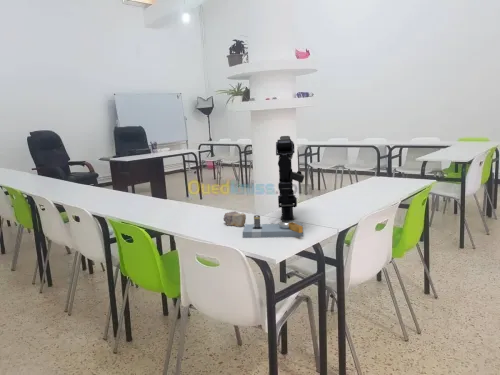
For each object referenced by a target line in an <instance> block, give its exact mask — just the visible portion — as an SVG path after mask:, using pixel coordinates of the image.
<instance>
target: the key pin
mask: <svg viewBox="0 0 500 375" xmlns="http://www.w3.org/2000/svg"><path fill="white" fill-rule="evenodd" d="M253 224H254V227H255V229H260V224H261V215H259V214H256V215H253Z"/></svg>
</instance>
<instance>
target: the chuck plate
mask: <svg viewBox="0 0 500 375" xmlns="http://www.w3.org/2000/svg"><path fill="white" fill-rule="evenodd" d="M294 223H295V224H298V225H300V226H303V222H302V223H301V222H300V223H298V222H297V223H296V222H294ZM243 227H244V228H243V230H242V238H249V239H250V238H297V237H298V238H300V237H301V238H302V237H304V231H303V232H302V233H298V232H295V231H293V230H291V229H283V228H280V227H279V223H260V229H255V227H254V223H252V224H251V223H249V224H247V223H245V224H244V226H243Z"/></svg>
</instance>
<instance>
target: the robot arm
mask: <svg viewBox="0 0 500 375" xmlns="http://www.w3.org/2000/svg"><path fill="white" fill-rule="evenodd" d="M294 154H295V143H294V141H293V140H292V139H291V136H289V135H281V136H280V137H279V139H277V142H275V155H276V156H278V161H277V166H278V179H279V180H278V181H279V182H278V186H277V187H278V191H279V195H278V197H277V198H278V199H277V200H278V208H279V209H280V208H281V216H280V221H282V220H283V219H284V220H289V221H294V220H295V216H294V208H296V207H298V204H297V202H298V200H297V199H298V198H297V197H296V195H295V194H294V193H295V192H294V188H293V181H295V182H298V183H300V184H301V183H302V184H303V182H304V179H305V175H304V174H303V173H302V171H301V170H297V172H296V171H293V168H292V160H293V156H294Z"/></svg>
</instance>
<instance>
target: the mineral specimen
mask: <svg viewBox="0 0 500 375" xmlns="http://www.w3.org/2000/svg"><path fill="white" fill-rule="evenodd" d="M246 218H247V214H246V213H243V212H242V213H239V212H237V211H229V212H225V213H224V216H223V221H224V223H225V224H226V225H227V226H234V227H245V225H246Z"/></svg>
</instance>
